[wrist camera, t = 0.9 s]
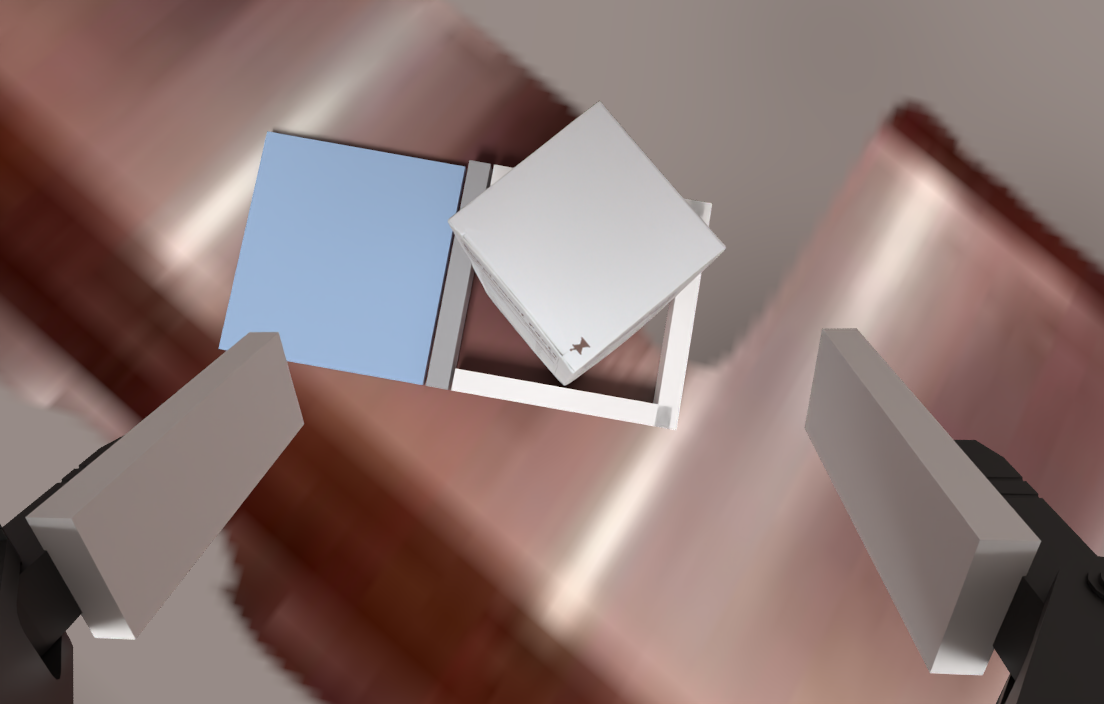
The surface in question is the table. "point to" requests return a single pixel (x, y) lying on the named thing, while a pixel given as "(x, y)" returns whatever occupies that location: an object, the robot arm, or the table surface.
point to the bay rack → (394, 276)
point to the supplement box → (583, 243)
